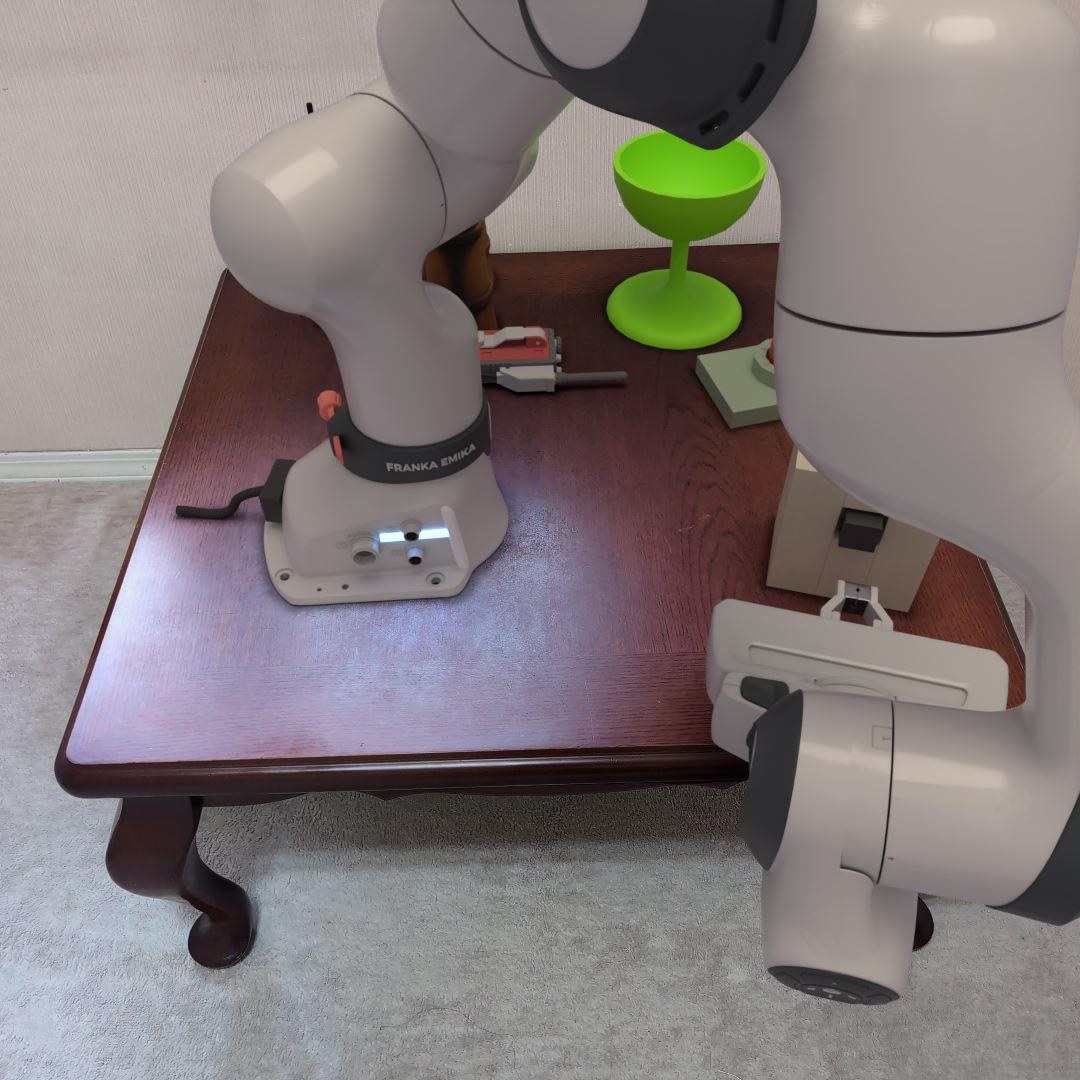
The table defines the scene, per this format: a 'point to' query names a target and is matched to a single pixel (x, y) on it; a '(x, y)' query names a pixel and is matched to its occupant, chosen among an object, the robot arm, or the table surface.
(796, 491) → the beige box
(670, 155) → the wineglass
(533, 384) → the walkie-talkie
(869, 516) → the power button
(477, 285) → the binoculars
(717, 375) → the switch box
